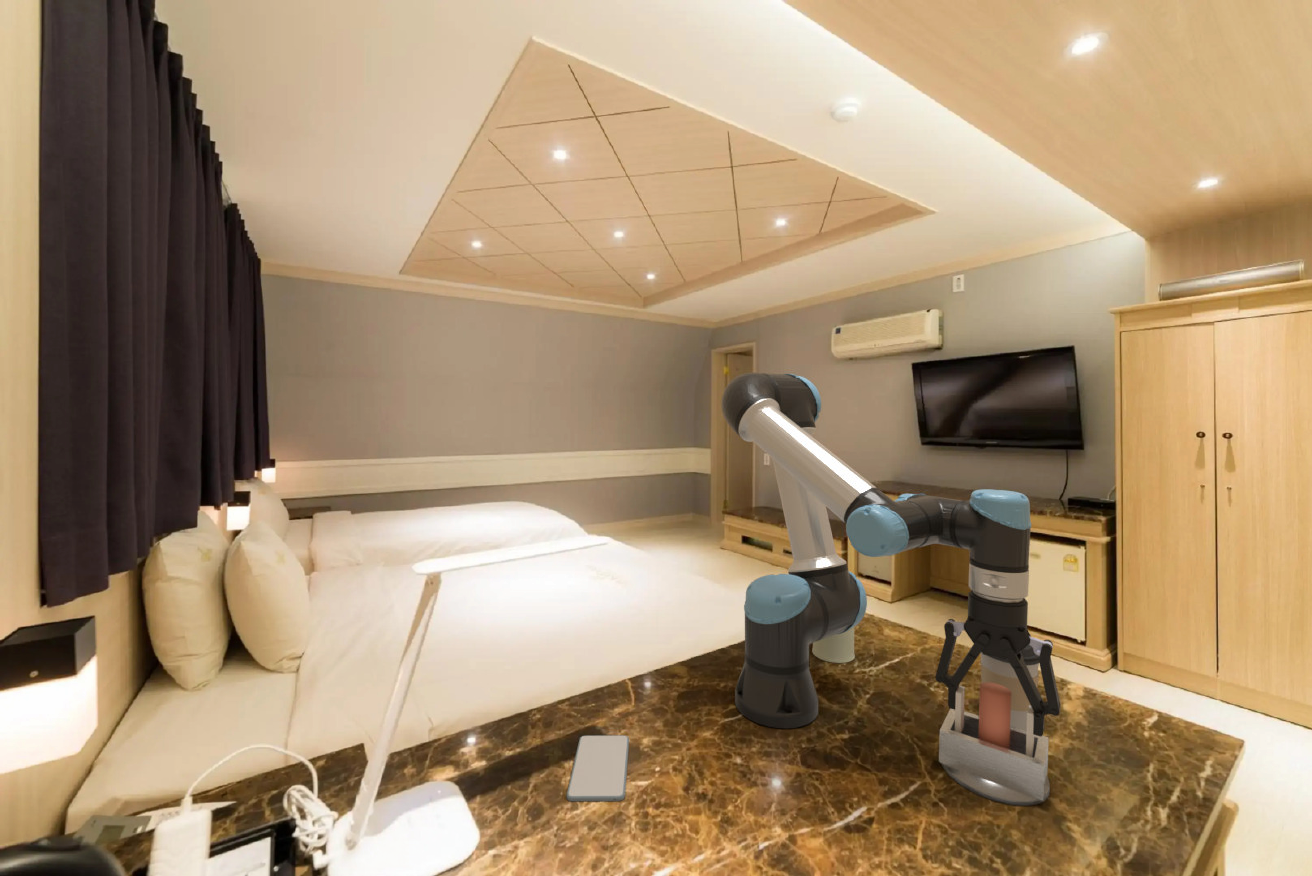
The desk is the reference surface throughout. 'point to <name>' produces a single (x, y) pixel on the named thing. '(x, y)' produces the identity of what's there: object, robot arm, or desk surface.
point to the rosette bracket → (995, 763)
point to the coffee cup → (1011, 682)
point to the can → (836, 647)
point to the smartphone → (599, 769)
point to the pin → (995, 714)
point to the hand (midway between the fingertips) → (993, 741)
